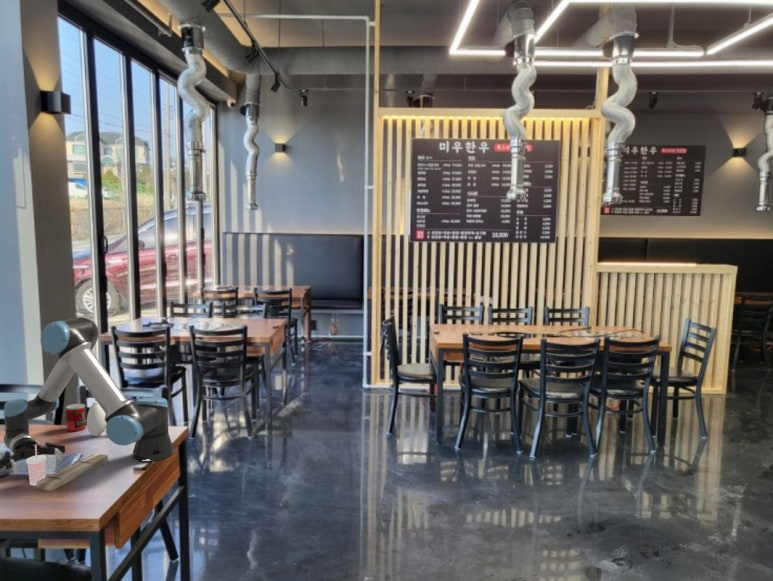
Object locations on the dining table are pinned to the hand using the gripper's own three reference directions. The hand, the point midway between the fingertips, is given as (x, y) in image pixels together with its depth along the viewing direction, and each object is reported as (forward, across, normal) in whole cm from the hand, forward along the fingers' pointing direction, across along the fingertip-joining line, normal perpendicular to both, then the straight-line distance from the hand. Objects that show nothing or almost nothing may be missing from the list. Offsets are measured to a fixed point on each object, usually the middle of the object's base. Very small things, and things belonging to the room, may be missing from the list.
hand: (39, 462), depth 184 cm
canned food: (-56, -27, -9) cm, 63 cm away
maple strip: (-2, -11, -8) cm, 14 cm away
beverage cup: (-3, 0, -9) cm, 9 cm away
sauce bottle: (-40, -31, -9) cm, 51 cm away
